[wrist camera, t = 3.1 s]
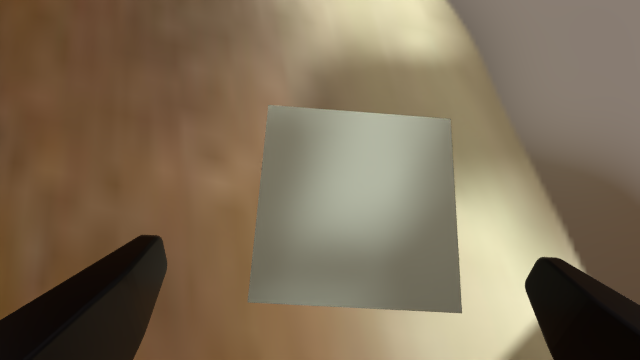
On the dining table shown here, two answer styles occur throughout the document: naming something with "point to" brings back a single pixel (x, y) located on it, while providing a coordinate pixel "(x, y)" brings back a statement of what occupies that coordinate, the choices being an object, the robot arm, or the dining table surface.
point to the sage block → (356, 212)
